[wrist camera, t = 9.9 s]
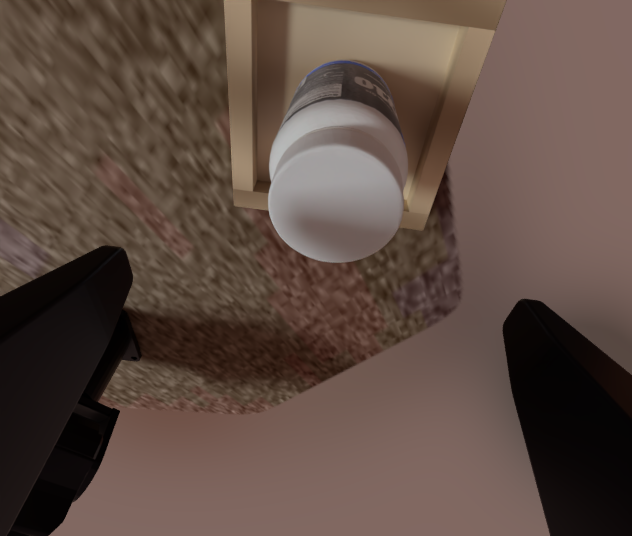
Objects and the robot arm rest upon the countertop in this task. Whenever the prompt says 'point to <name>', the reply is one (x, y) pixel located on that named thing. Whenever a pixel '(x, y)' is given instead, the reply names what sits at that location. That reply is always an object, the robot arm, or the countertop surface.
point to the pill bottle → (338, 165)
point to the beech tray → (365, 47)
